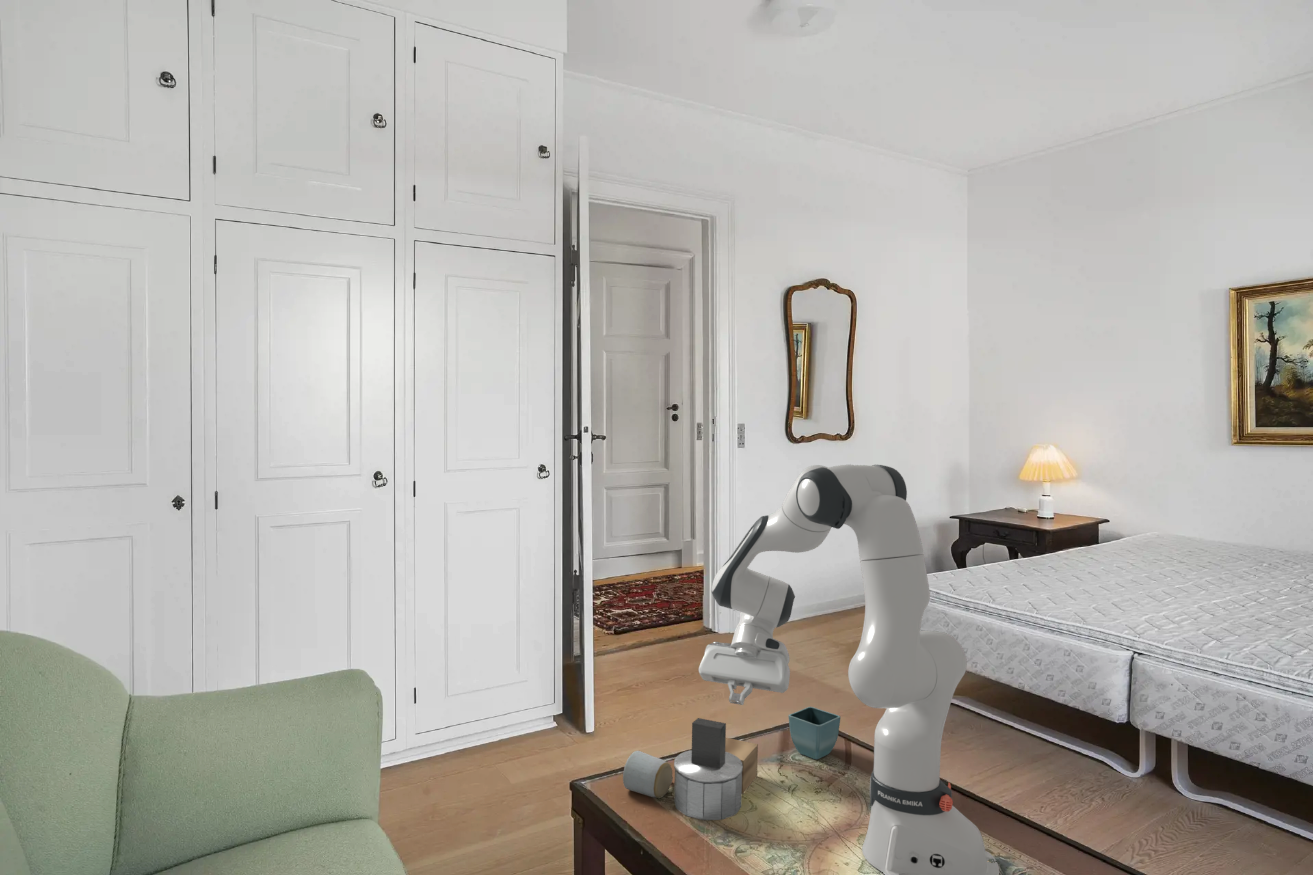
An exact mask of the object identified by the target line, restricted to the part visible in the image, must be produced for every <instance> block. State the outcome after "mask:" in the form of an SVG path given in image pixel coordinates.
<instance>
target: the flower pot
mask: <svg viewBox="0 0 1313 875" xmlns="http://www.w3.org/2000/svg"><path fill="white" fill-rule="evenodd" d="M840 724H841V716H840V715H838V714H835V713H831V712H829V711H825V710H822V709H819V708H817V707H814V706H807V707H804V708H803V709H800V710H798V711H796V712H793V713H790V714H788V725H789V733H790V737H791V740H792V743H793V745H794V747H795V749H796V751H797V752H798V753H799V754H800V755H803V756H806V757H808V758H811V759H813V760H820V759H821V758H823V757H826V756H827V755H829V754H830V753H831V752H832V751H833V749H834V748H835V745H836V743H837V741H838V737H839V731H840Z"/></svg>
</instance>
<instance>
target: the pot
mask: <svg viewBox="0 0 1313 875" xmlns="http://www.w3.org/2000/svg"><path fill="white" fill-rule="evenodd" d="M673 788H674V791H673V793H674V796H673V797H674V798H673V800H674V806H675V809H677V811H679V812H680V813H682V814H683V815H685V816H686V817H689V818H694V819H697V820H700V821H721V820H725V819H728V818H731V817H733V816H736V814H737V813H738V812H739V811H740V809H741V808H742V795H743V794H742V773H741V774H740V775H739V776H738V777H737V778H735V779H732V780H730V781H726V782H719V783H704V782H698V781H693V780H690V779H687V778H685V777H683V776H681V775H680V774H678V773H677V772H676V770H675V769H674V787H673Z"/></svg>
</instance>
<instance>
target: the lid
mask: <svg viewBox="0 0 1313 875" xmlns="http://www.w3.org/2000/svg"><path fill="white" fill-rule="evenodd" d="M726 728H727V722H721V721H716V720H710V719H705V718H700V717H697V718H696V719H695V720H694V721H693V722H691V750H685V751H684V752H681V753H680V754H677V756H676V757H674V761H673V768H674V771H675V770H676V772H677V773H678V774H680V775H681V776H683V777H685V778H687V779H690V780H693V781H698V782H704V783H719V782H726V781H730V780H732V779H735V778H737V777H738V776H739V775H740V774H741V773H742V769H743V764H742V762H741V760H740V759H739V758H738V757H736V756H735V755H733V754H731V753H728V752H725V743H726V738H727V735H726V732H727V729H726Z"/></svg>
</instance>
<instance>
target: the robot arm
mask: <svg viewBox="0 0 1313 875" xmlns="http://www.w3.org/2000/svg"><path fill="white" fill-rule="evenodd" d="M907 489H908V488H907V484H906V482H905V479H904V477H903V475H902V474H901V473H900V472H899V471H898V470H897V469H895V468H893V467H891V466H888V465H883V464H873V465H865V464H863V465H861V464H860V465H858V464H855V465H854V464H840V465H835V466H829V467H828V466H824V465H819V464H814V465H810V466H808V467H806V468H804V469H803V470H802V471H801V473H800V474H799V475H798V476H797V477H796V479H795V480H794V482H792V485H791V486H790V488H789V490H788V492H787V494H786V496H785V498H784V500H783V502H782V504H781V506H780V507H779V508H777V510H775V511H774V512H773V513H771V514H769V515H762V516H760V517H759V518H758V519H757V520H756V521H755V522H754V524H752V525H751V527H750V529H749V530H748V531H747V533H746V534H745V535H744V536H743V538H742V539H741V541H740V542H739V544H738V546H736V548H735V550H734V551H733V553H732V554H731V555H730V557H729V558H728V559H727V561H726V562H725V563H724V564H723V565H722V566H721V567H720V569H719V570H718V571H717V572H716V574H715V575H714V578H713V581H712V584H711V595H712V596H713V599H714V600H715V602H716V603H717V604H718V606H719V607H723V608H727V609H730V610H735V611H738V612H740V613H739V622H738V624H737V625H736V627H735V630H734V633H733V637H732V640H731V643H730V642H719V641H713V642H711V643H709V644H707V645H706V646H705V649H704V655H703V657H702V659H701V661H700V664H699V666H698V673H699V676H700V678H701V679H702V680H703V681H704V682H705V681H706V682H711V683H719V684H724V685H727V687H728V690H729V693H730V694H729V698H728V702H729V703H730V704H735V705H739V706H743V705H745V704H744V703H745V701H746V699H747V698H748V696H750V694H752V692H753V689H754V690H755V689H757V690H761V691H769V692H776V693H781V694H783V693H785V692H787V690H788V689H789V685H790V679H791V678H790V676H791V675H790V674H791V670H790V666H789V663H790V659H791V658H790V654H789V651H788V650H789V649H788V648H787V646H786V645H785V643H784V642H782V641H779V640H778V639H776V638H774V630H775V629H777V628H780V627H781V626H783V625H784V624H787V623H788V622H789V621H790V618H791V614H792V611H793V606H794V601H795V597H796V596H795V593H794V590H793V588H792V586H791V585H790V584H789V583H786V582H785V581H784V580H780V579H778V578H776V577H772V576H770V575H765V574H763V573H761V572H757V571H755V570H753V569H750V568H749V567H750V565H751V563H752V562H753V561H754V559H755V558H756V556H757V555H758V554H760V553H765V552H786V553H797V554H798V553H806V552H809V551H813V550H814V549H816V548H818V547H820V545H822V544H823V542H824V541H825V540H826V538H827V537H828V535H829V533H830V531H831V530H832V528H833V529H837V530H839V529H840V528H842V527H843V526H844V525H846V526H847V527H849V528H851V529H852V530H853V532H854V534H855V536H856V540H857V547H858V548H857V549H858V555H859V560H860V562H859V563H860V570H861V577H862V585H863V592H864V602H865V603H864V604H865V605H864V608H865V609H864V619H863V625H862V627H863V628H862V633H861V638H860V640H859V641H860V642H859V645H858V647H857V649H856V651H855V654H854V655H853V657H852V658H851V659H850V661H849V664H848V665H849V666H848V672H847V675H848V676H847V677H848V682H849V686H850V687H851V690H852V692H853V694H854V695H855V696H856V698H857V699H858V700H859V701H861V703H862V704H864V705H866V706H867V707H870V708H872V709H885V711H884V713H883V715H882V716H881V718H880V719H879V721H878V723H877V724H876V726H875V730H874V741H873V742H874V743H873V745H874V746H873V769H872V772H871V774H870V781H869V800H870V805H871V808H870V816H869V821H868V826H867V832H866V835H865V838H864V841H863V844H862V847H861V852H862V855H863V857H864V858H865V860H866V861H867V862H868V863H869V864H870V865H871V866H873V867H874V868H875V869H876V870H878V871H880V873H882V872H883V873H882V874H885V875H999V873H1000V868H999V864H998V861H997V859H996V858H995V857H994V856H993V854H992V853H990V852H989V851H986V846H985V842H984V838H983V836H982V832H981V831H980V830H979V828H978V826H977V825H976V824H975V823H974V822H972V821H971V820H970V819H969V818H967V817H966V816H965V815H964V814H963V813H962V812H961V811H959V809H957V808H956V807H955V806H954V805H953V803H954V801H953V792H952V785H951V783H950V782H948V784H946V783H945V782H944V781H942V780H941V779H940V776H941V773H940V772H941V752H942V751H941V748H942V737H943V733H944V729H945V725H946V720H947V717H948V714H949V710H950V706H951V703H952V699H953V697H954V694H955V692H956V689H957V687H958V685H959V683H960V682H961V680H962V678H963V677H964V676H965V674H966V671H967V667H968V664H967V662H968V661H967V656H966V653H965V650H964V648H963V646H962V644H961V643H960V642H959V641H958V639H956V638H955V637H954V636H952V635H951V634H949V633H947V632H943V631H935V630H921V627H922V621H923V620H922V619H923V617H924V613H925V611H926V608H927V607H928V605H929V604H930V599H931V591H930V585H929V579H928V573H927V567H926V561H925V554H924V548H923V543H922V539H921V534H920V531H919V527H918V524H917V522H916V518H915V516H914V512H913V510H912V507H911V506H910V504H909V503H908V501H907V498H908V496H907V495H908V490H907ZM738 687H744V689H743V690H742V691H741V692H740V693H736V692H735V691H734V690H737V688H738ZM989 859H994V861H997V862H995V863H994V862H993V863H990V862H987V861H988V860H989ZM992 861H993V860H992Z"/></svg>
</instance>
